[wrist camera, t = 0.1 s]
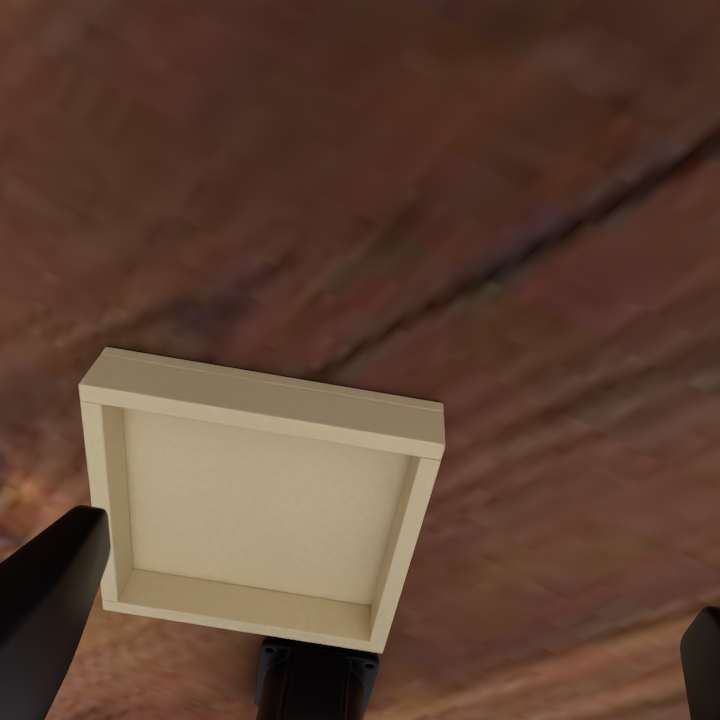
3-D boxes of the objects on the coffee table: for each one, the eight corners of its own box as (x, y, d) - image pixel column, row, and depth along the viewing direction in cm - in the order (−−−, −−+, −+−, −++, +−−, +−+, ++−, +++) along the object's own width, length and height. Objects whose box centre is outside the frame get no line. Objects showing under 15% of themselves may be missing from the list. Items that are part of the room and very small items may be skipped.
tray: (384, 607, 34) (382, 654, 32) (122, 565, 33) (102, 610, 31) (443, 402, 26) (446, 445, 24) (105, 345, 26) (77, 384, 24)
